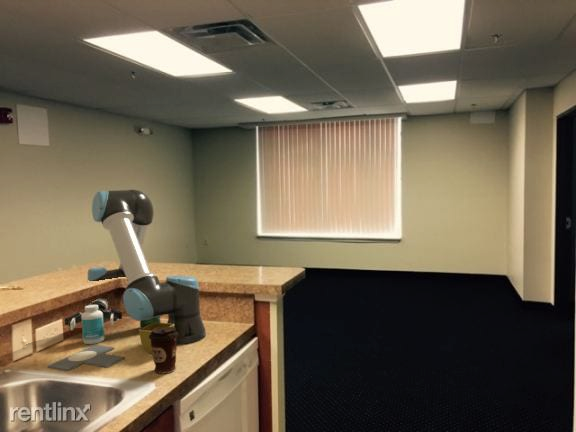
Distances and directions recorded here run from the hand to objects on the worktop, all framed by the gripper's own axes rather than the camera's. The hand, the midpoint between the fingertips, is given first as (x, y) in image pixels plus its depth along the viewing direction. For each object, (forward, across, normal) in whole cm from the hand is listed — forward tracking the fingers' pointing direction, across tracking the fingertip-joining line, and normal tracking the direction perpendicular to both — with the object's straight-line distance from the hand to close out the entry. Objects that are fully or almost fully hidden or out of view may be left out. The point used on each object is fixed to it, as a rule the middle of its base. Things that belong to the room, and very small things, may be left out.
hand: (91, 324), depth 170 cm
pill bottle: (-3, 0, -8) cm, 8 cm away
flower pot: (+18, -22, -8) cm, 30 cm away
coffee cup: (+35, -24, -8) cm, 43 cm away
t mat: (+16, -2, -8) cm, 18 cm away
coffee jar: (-11, -21, -8) cm, 25 cm away
